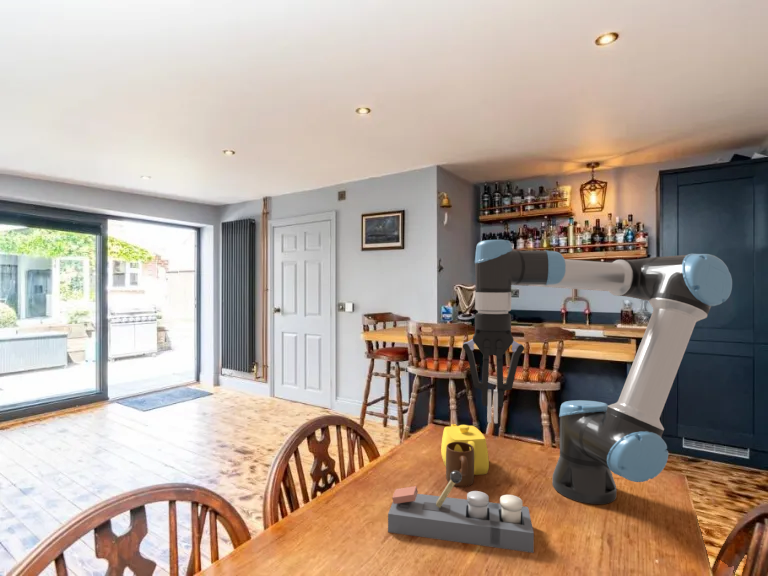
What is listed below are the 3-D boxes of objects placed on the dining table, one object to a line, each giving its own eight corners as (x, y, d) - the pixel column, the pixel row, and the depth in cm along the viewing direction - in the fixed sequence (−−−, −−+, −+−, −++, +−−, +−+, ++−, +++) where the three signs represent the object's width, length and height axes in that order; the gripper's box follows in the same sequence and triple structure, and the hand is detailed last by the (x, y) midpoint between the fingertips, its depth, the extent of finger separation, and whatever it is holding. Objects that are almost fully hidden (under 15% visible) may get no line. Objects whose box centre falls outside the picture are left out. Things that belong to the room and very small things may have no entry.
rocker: (417, 491, 95) (416, 486, 95) (415, 500, 91) (413, 494, 91) (397, 495, 96) (395, 489, 96) (393, 503, 92) (392, 497, 93)
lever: (443, 505, 93) (464, 472, 92) (442, 511, 91) (463, 478, 90) (433, 498, 94) (454, 466, 93) (432, 504, 91) (453, 471, 90)
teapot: (435, 451, 133) (435, 415, 133) (472, 449, 134) (472, 413, 134) (452, 481, 113) (452, 438, 113) (495, 478, 114) (495, 436, 114)
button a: (521, 516, 90) (521, 496, 90) (523, 529, 86) (523, 507, 86) (499, 514, 91) (499, 493, 91) (500, 526, 87) (500, 504, 87)
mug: (480, 496, 105) (480, 459, 105) (450, 496, 105) (450, 459, 105) (471, 474, 117) (471, 441, 117) (444, 474, 117) (444, 441, 117)
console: (527, 524, 93) (528, 503, 93) (533, 552, 83) (533, 529, 83) (397, 507, 99) (397, 488, 99) (388, 532, 90) (388, 510, 90)
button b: (488, 512, 92) (488, 492, 92) (488, 524, 87) (488, 502, 87) (467, 510, 93) (467, 489, 93) (466, 521, 89) (466, 500, 88)
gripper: (524, 311, 91) (523, 417, 91) (461, 310, 94) (461, 413, 95) (528, 314, 84) (527, 429, 84) (460, 312, 87) (459, 424, 87)
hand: (492, 420), depth 89 cm, fingers closed
